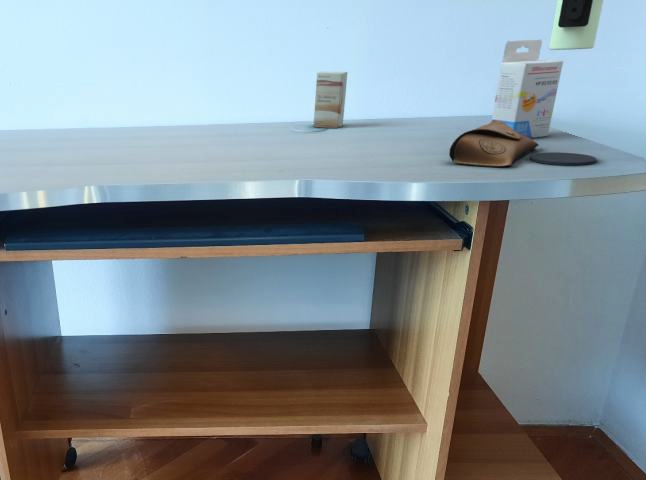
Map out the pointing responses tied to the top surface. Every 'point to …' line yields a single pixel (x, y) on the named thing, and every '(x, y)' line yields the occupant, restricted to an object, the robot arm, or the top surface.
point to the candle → (575, 30)
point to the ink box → (526, 89)
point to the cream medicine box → (330, 99)
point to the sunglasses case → (490, 146)
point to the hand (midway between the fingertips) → (575, 24)
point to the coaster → (563, 158)
